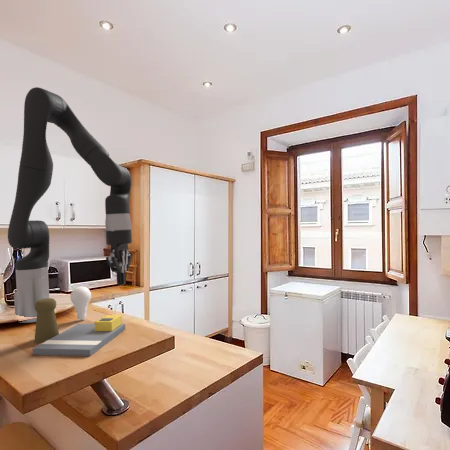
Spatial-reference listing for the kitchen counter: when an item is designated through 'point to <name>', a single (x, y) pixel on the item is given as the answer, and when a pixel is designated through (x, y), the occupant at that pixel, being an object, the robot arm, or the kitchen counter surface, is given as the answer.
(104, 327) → the block
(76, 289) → the lightbulb
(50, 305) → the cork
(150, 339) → the kitchen counter surface
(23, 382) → the kitchen counter surface
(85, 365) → the kitchen counter surface
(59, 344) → the board
